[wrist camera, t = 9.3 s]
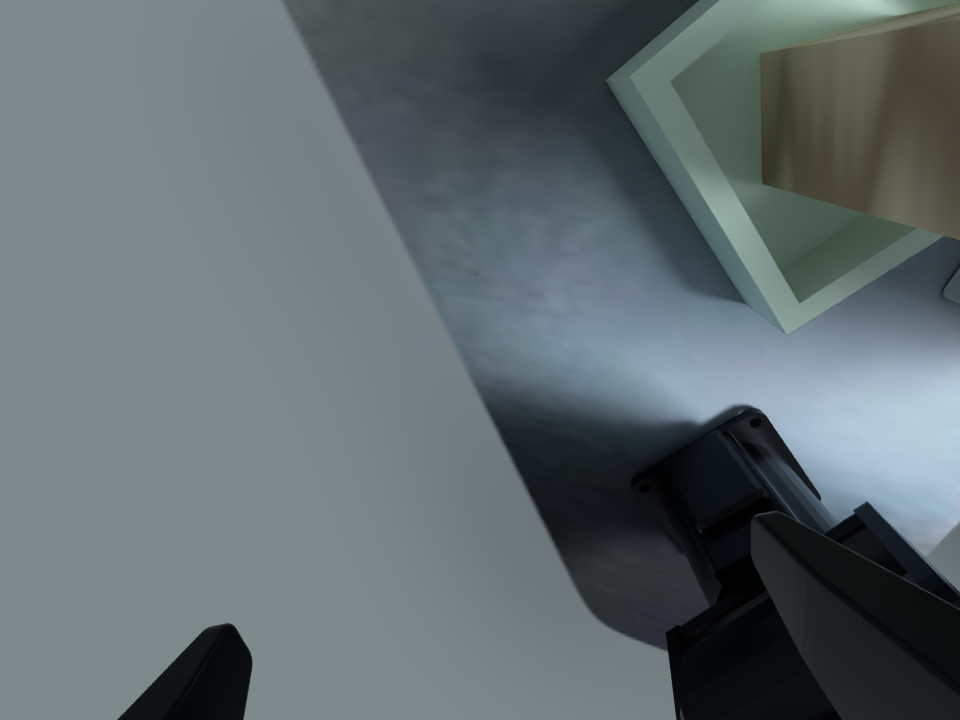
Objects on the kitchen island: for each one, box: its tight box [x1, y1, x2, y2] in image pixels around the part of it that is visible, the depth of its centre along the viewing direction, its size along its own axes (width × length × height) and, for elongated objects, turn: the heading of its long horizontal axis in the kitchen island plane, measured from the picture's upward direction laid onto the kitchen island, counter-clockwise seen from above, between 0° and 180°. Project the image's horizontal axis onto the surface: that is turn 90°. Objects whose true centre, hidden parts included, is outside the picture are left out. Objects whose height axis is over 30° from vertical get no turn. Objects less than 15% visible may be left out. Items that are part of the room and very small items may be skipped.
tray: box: [605, 0, 960, 335], centre depth 16 cm, size 10×10×3 cm
